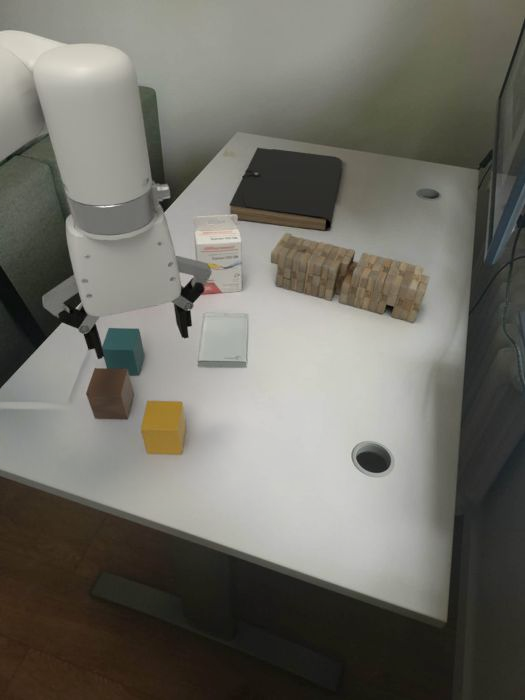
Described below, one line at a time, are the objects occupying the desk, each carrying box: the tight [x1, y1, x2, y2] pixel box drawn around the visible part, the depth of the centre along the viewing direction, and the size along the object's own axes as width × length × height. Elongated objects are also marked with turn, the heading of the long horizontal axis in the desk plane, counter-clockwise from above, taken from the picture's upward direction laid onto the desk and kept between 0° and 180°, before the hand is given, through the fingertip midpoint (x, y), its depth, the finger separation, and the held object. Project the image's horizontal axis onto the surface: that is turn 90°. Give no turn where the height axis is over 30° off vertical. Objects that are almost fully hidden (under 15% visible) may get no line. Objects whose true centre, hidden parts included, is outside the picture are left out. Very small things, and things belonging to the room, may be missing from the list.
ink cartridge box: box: [193, 214, 243, 295], centre depth 94 cm, size 9×5×15 cm, turn 100°
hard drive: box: [197, 312, 249, 369], centre depth 87 cm, size 2×8×12 cm
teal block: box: [102, 327, 145, 376], centre depth 81 cm, size 5×5×6 cm
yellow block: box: [140, 400, 187, 456], centre depth 70 cm, size 5×5×6 cm
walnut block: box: [85, 367, 135, 420], centre depth 75 cm, size 5×5×6 cm
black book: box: [229, 147, 343, 232], centre depth 126 cm, size 33×4×24 cm
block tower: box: [270, 232, 430, 324], centre depth 96 cm, size 8×8×29 cm
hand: (141, 340), depth 57 cm, fingers open, 9 cm apart
